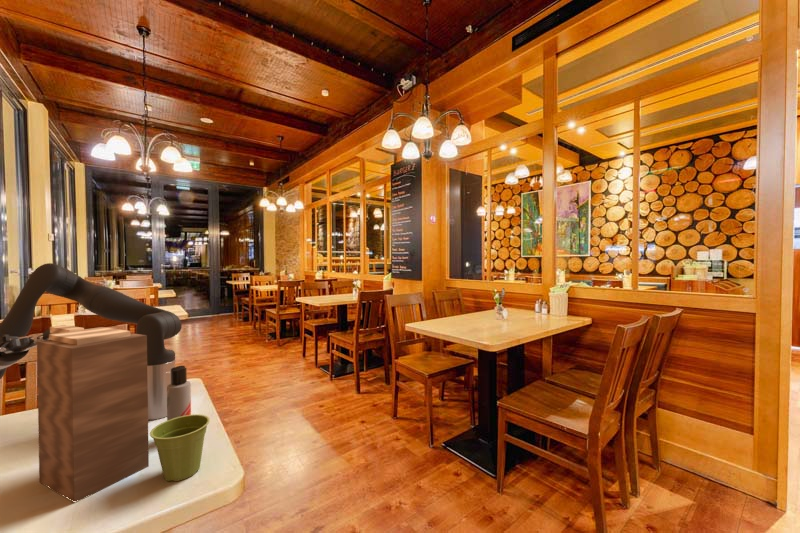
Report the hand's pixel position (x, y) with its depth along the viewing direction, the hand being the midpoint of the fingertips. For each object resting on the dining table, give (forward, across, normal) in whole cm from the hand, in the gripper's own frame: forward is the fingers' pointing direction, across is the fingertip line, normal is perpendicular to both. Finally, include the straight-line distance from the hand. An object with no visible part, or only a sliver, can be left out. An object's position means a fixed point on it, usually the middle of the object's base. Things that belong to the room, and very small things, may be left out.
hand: (30, 334), depth 92 cm
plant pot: (+34, +7, +48) cm, 59 cm away
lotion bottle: (+18, +18, +41) cm, 48 cm away
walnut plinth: (+17, 0, +40) cm, 44 cm away
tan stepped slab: (+23, -1, +8) cm, 25 cm away
